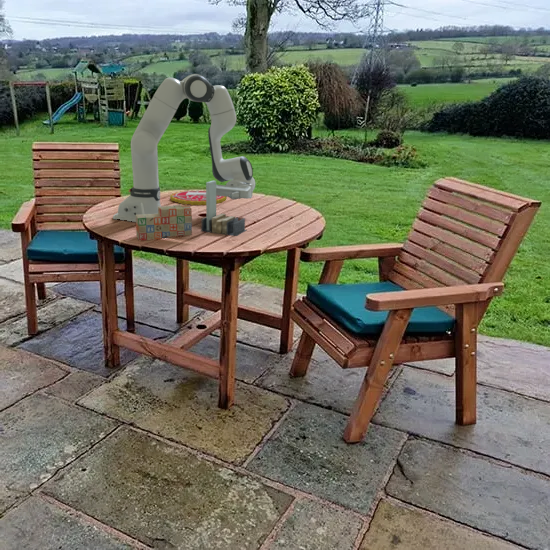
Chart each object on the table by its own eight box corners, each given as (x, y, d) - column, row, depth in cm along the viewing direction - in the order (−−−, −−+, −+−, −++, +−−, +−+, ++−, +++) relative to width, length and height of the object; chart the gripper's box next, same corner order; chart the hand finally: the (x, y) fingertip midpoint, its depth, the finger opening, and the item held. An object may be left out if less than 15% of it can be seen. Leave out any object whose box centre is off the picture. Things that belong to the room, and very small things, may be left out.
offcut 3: (222, 233, 218) (222, 220, 216) (230, 228, 225) (230, 216, 223) (226, 233, 217) (226, 220, 216) (235, 229, 225) (235, 216, 223)
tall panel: (206, 230, 222) (206, 182, 215) (213, 226, 227) (212, 180, 220) (209, 230, 221) (209, 182, 214) (216, 227, 226) (216, 180, 220)
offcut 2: (216, 232, 218) (216, 221, 216) (226, 227, 227) (226, 216, 225) (220, 233, 217) (220, 221, 216) (231, 228, 226) (231, 216, 224)
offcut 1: (211, 232, 219) (211, 217, 217) (221, 227, 227) (221, 213, 225) (216, 232, 219) (216, 218, 217) (225, 227, 226) (225, 213, 224)
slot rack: (199, 233, 220) (199, 219, 218) (212, 227, 230) (211, 213, 228) (236, 238, 215) (236, 224, 213) (247, 232, 225) (247, 218, 223)
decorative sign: (221, 189, 301) (231, 200, 274) (221, 193, 302) (231, 205, 275) (167, 190, 294) (172, 201, 267) (167, 194, 294) (173, 206, 267)
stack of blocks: (138, 241, 207) (137, 210, 203) (136, 237, 213) (134, 206, 208) (192, 237, 215) (191, 207, 211) (188, 233, 220) (188, 204, 216)
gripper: (214, 180, 242) (199, 185, 230) (255, 184, 235) (242, 189, 223) (214, 193, 244) (200, 199, 232) (255, 198, 237) (242, 204, 225)
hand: (221, 194), depth 228 cm, fingers open, 8 cm apart
